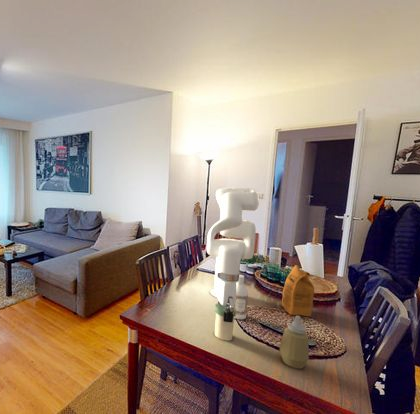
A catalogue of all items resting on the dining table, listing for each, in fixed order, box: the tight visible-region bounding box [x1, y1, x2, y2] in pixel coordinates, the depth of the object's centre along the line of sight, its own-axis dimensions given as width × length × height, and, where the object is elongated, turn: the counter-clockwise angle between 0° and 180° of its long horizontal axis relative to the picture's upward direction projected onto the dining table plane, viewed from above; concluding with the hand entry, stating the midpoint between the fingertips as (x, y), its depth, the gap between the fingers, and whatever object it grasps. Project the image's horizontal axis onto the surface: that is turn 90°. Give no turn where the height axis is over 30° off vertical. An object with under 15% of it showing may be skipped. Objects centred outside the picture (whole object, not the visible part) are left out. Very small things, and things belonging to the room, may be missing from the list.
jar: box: [214, 312, 235, 341], centre depth 113 cm, size 6×6×12 cm
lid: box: [214, 302, 236, 317], centre depth 113 cm, size 8×8×2 cm
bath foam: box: [234, 274, 249, 320], centre depth 128 cm, size 7×7×20 cm
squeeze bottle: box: [279, 315, 310, 369], centre depth 97 cm, size 8×8×18 cm
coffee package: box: [281, 264, 315, 317], centre depth 132 cm, size 10×12×22 cm
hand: (224, 316), depth 113 cm, fingers closed on lid, 7 cm apart
